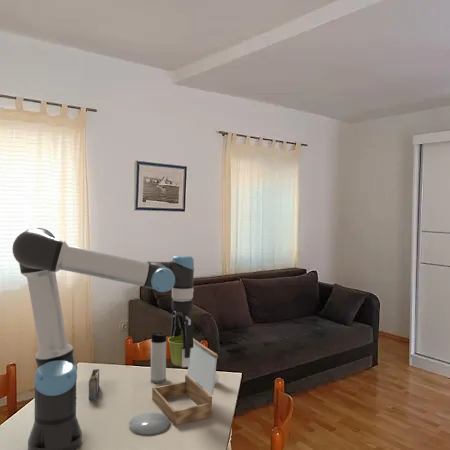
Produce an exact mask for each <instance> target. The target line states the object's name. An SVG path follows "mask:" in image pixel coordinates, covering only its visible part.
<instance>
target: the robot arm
mask: <svg viewBox="0 0 450 450" xmlns="http://www.w3.org/2000/svg"><path fill="white" fill-rule="evenodd" d="M11 250H12V255H13V257H14V259H15V260H16V262H18V264H19V265H18V266H19V269H20V274H21V275H23V276H24V277H26V280H27V285H28V292H29V298H30V303H31V309H32V315H33V321H34V327H35V333H36V338H37V344H38V351H37V352H36V354H35V363H36V368H37V369H36V370H35V373H34V377H33V378H34V380H33V385H34V422H33V426H32V429H31V430H30V434H29V437H28V440H27V450H77V449H78V447H80V445H81V444H82V442H83V432H82V429H81V426H80V423H79V419H78V417H77V380H78V379H77V378H78V363H77V360H76V358H75V353H74V347H73V345H71V343H68V340H67V335H66V329H65V328H66V327H65V322H64V317H63V312H62V311H63V309H62V304H61V298H60V293H59V292H60V291H59V285H58V281H57V280H58V279H57V272H59V271H66V272H71V273H76V274H81V275H85V276H90V277H96V278H100V279H105V280H111V281H115V282H121V283H123V284H124V283H125V284H131V285H136V286H141V287H144V288H147V289H153V290H155V291H156V292H160V293H166V292H169V291H170V290H171V299H172V300H171V311H172V312H171V324H170V334H169V335H170V337H173V336H175V337H176V336H182V340H183V347H182V366H181V368H188V366H190V348H193V338H194V331H193V330H194V329H193V328H194V326H193V325H194V319H193V318H190V316H189V315H190V314H189V312H192V310H193V309H194V300H193V298H194V292H195V290H194V275H195V272H194V271H195V266H194V265H195V264H194V263H195V262H194V258H193V256H190V255H184V254H183V255H182V254H181V255H173V257H172V261H140V260H135V259H130V258H126V257H122V256H117V255H114V254H109V253H104V252H100V251H97V250H91V249H87V248H83V247H80V246H79V247H78V246H74V245H69V244H67V241H65V240H63V239H58V238H56V237H55V235H54V234H53V233H52V232H51V231H49V230H47V229H45V228H42V227H32V228H29V229H27V230H25V231H23V232H21V233H20V234H19V235H17V236H16V238H15V239H14V241H13V244H12V249H11ZM170 337H169V338H170Z"/></svg>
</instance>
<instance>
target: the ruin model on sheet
mask: <svg viewBox="0 0 450 450" xmlns="http://www.w3.org/2000/svg"><path fill="white" fill-rule="evenodd" d="M90 373H91V374H90V375H89V379H88V400H97V397H98V393H99V389H100V368H94V369H93V368H92V370H91V372H90Z"/></svg>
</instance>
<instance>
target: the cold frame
mask: <svg viewBox="0 0 450 450" xmlns="http://www.w3.org/2000/svg"><path fill="white" fill-rule="evenodd" d="M151 389H152V390H151V391H152V393H151V395H152V396H151V397H152V398H151V400H152V402H154V404H155V405H156V406H157V407H158V408H159V409H160V411H161V412H162V414H163V415H165V416H167V417H168V418H169V422H170V423H171V424H172V425H173V426H177V425H180V424H185V423H188V422H193V421H198V420H202V419H206V418H210V417H211V418H212V416H213V415H212V413H213V395H211V394H210V393H209V392H208V391H206V390H205V389H204V388H203V387H202V386H199V385H198V384H197V383H196V381H195V380H194V379H192V378H191V377H190V376H189V375H188V374H185V375H184V381H182V382H176V383H171V384H166V385H159V386H154V387H152V388H151ZM181 395H182V396H183V395H186V396H187V397H188V398H189V399H190V400H191V401H192V402H194V403H195V405H194V406H190V407H183V408H180V409H175V408H174V407H173V406H172V405H171V404H170V403H169V402H168V401H167V400H166V399H168V398H171V397H172V398H173V397H177V396H181Z"/></svg>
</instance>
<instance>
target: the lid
mask: <svg viewBox="0 0 450 450" xmlns="http://www.w3.org/2000/svg"><path fill="white" fill-rule="evenodd" d="M218 356H219V355H218V354H217V353H216V352H214V351H213V350H211V349H210V348H208V347H207V346H205V345H204V344H202V343H201V342H200V341H198V340H196V339H195V338H194V342H193V348H191V354H190V366H188V367H187V375H188V376H189V377H190V378H191V379H192V380H194V381H195V382H197V383H198V384H199V385H201V386H200V387H202V388H203V389H204V390H205V391H206V392H207V393H209V394H210V395H211V396H213V395H214V392H215V385H214V383H215V372H216V373H217V371H216V370H217V363H218V362H217V359H218V358H219V357H218Z"/></svg>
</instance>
